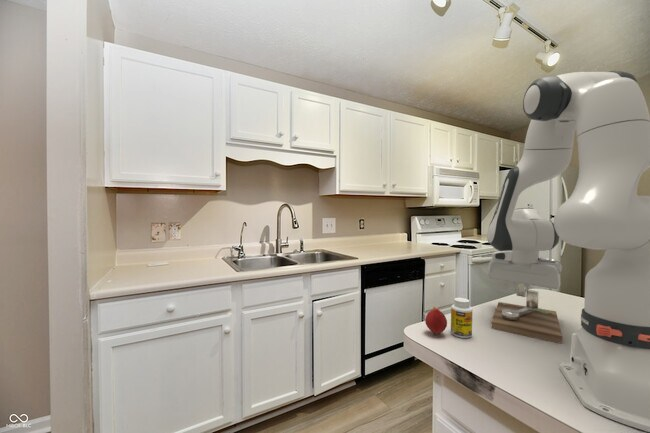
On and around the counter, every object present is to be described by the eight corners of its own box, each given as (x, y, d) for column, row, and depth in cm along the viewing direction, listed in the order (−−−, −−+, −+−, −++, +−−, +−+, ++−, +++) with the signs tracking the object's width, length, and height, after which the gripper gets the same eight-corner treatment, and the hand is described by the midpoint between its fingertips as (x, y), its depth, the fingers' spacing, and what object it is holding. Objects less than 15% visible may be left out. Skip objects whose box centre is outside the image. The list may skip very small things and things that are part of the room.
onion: (443, 330, 85) (443, 303, 85) (449, 339, 79) (450, 310, 79) (423, 329, 85) (423, 303, 85) (428, 338, 80) (428, 310, 79)
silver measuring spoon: (513, 320, 85) (514, 300, 85) (498, 316, 89) (499, 296, 89) (542, 311, 93) (542, 292, 93) (527, 307, 97) (527, 289, 97)
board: (561, 343, 76) (561, 335, 76) (491, 328, 86) (491, 321, 86) (555, 317, 95) (556, 310, 95) (498, 307, 105) (498, 301, 105)
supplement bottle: (453, 338, 80) (453, 302, 80) (448, 329, 85) (449, 296, 85) (474, 339, 79) (475, 303, 78) (468, 331, 84) (469, 297, 84)
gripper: (563, 258, 91) (561, 301, 92) (491, 251, 105) (490, 287, 106) (561, 261, 87) (559, 306, 87) (486, 253, 101) (485, 291, 102)
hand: (521, 296), depth 97 cm, fingers closed
